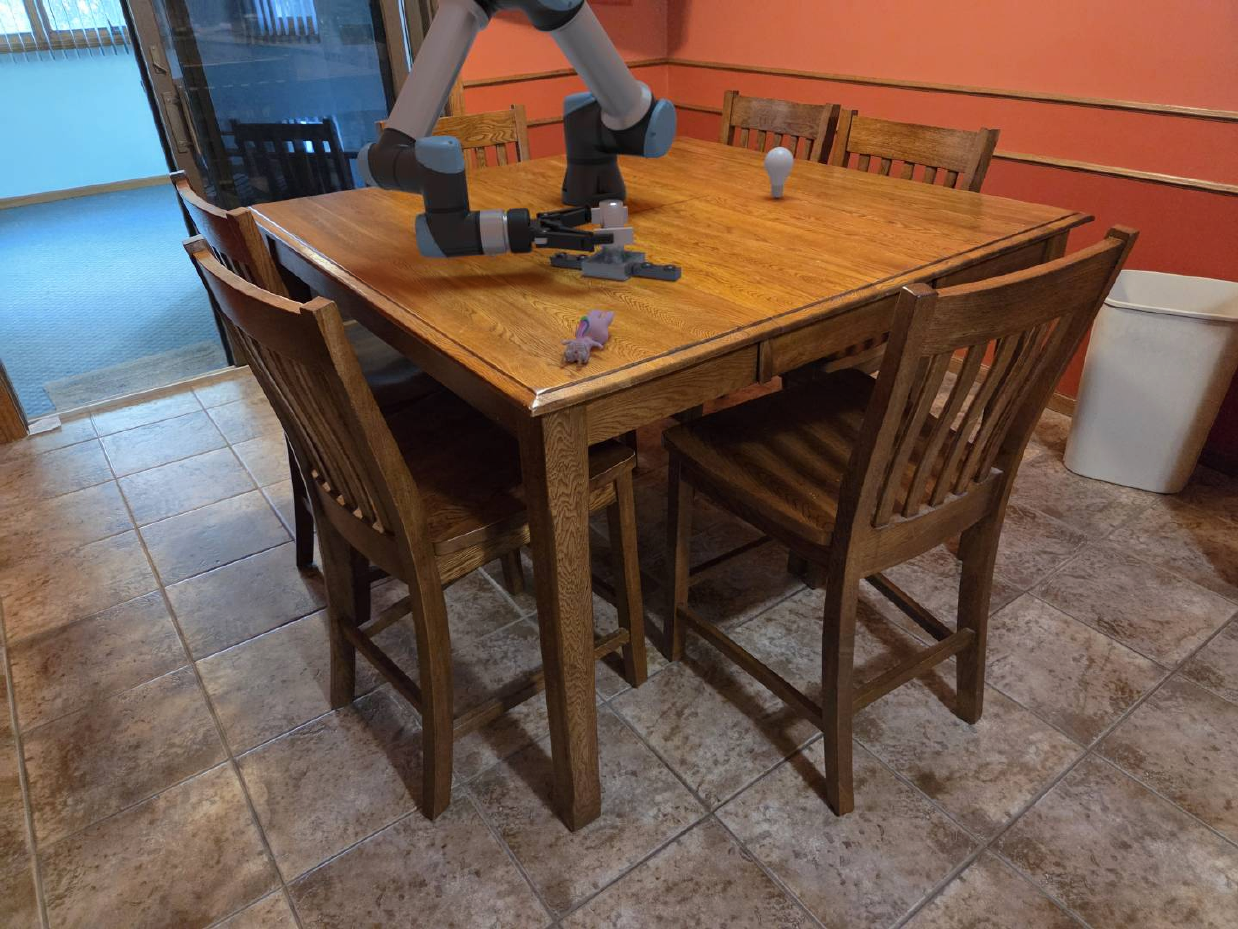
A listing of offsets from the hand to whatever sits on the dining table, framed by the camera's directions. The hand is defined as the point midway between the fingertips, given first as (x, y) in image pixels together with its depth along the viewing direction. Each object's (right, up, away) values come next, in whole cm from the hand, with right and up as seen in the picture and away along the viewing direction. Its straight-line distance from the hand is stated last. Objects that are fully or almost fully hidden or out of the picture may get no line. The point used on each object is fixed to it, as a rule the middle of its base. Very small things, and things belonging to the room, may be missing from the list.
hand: (630, 224), depth 141 cm
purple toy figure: (-6, -25, -24) cm, 35 cm away
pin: (-3, -7, +4) cm, 9 cm away
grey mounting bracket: (-3, -7, +4) cm, 9 cm away
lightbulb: (+34, +18, +43) cm, 58 cm away
